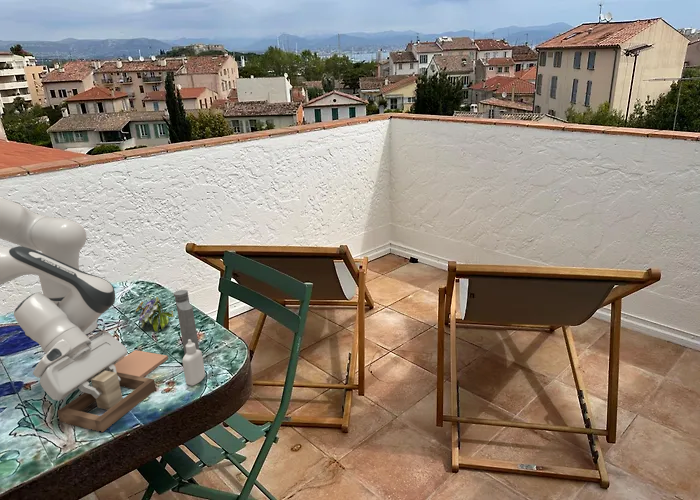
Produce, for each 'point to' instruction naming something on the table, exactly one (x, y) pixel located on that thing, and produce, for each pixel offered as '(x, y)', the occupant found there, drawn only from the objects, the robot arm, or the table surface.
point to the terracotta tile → (139, 363)
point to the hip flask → (186, 318)
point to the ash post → (107, 389)
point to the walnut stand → (101, 423)
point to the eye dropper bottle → (193, 364)
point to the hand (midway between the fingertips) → (109, 389)
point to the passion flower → (149, 312)
